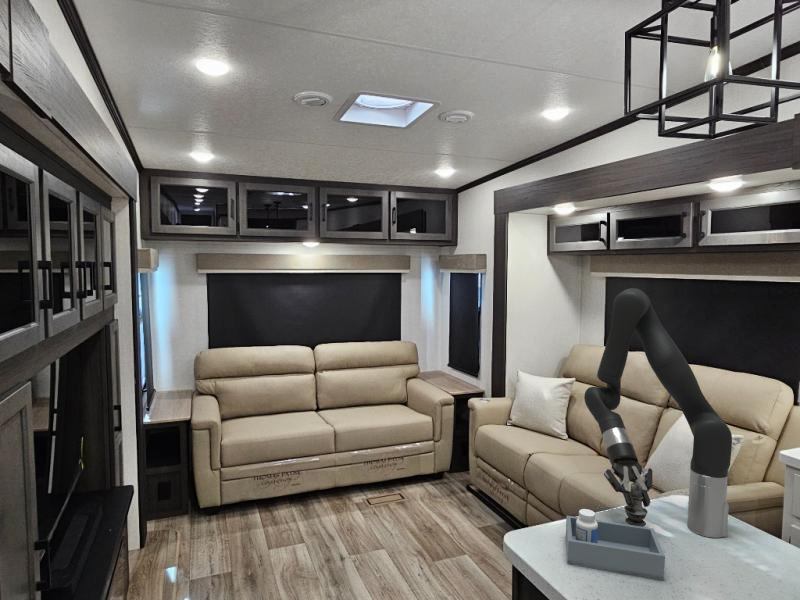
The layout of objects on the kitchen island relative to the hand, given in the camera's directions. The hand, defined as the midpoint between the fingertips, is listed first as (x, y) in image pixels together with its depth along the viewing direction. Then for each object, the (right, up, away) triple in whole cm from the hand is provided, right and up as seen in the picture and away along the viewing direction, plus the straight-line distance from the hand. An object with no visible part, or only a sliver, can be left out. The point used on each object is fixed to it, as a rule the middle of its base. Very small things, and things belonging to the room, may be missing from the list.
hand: (639, 505), depth 138 cm
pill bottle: (-16, -10, -5) cm, 20 cm away
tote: (-11, -11, -7) cm, 16 cm away
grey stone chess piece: (0, -6, +2) cm, 6 cm away
